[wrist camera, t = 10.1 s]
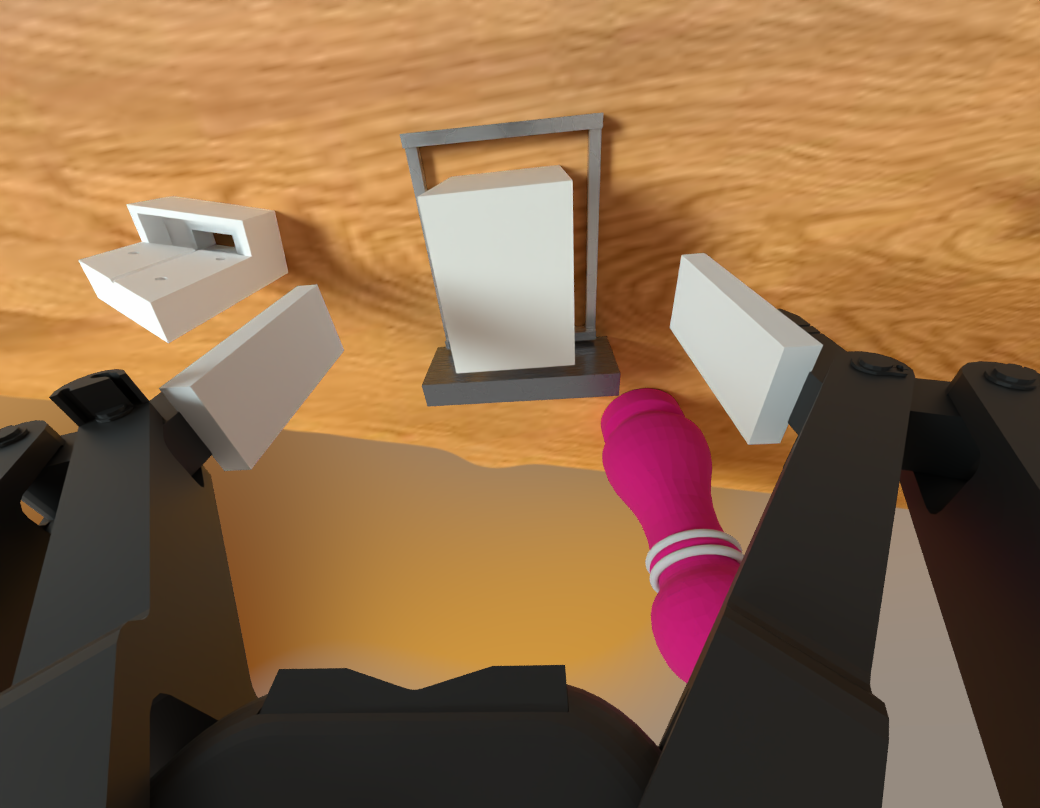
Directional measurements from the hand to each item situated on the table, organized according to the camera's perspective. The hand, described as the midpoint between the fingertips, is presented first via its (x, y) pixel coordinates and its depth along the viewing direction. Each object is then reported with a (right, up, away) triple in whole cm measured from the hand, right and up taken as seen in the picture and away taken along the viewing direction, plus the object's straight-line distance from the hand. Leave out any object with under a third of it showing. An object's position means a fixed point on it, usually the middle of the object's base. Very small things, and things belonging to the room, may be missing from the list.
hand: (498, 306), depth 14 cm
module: (0, +6, +9) cm, 11 cm away
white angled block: (-17, +7, +9) cm, 20 cm away
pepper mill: (+10, -5, +17) cm, 20 cm away
